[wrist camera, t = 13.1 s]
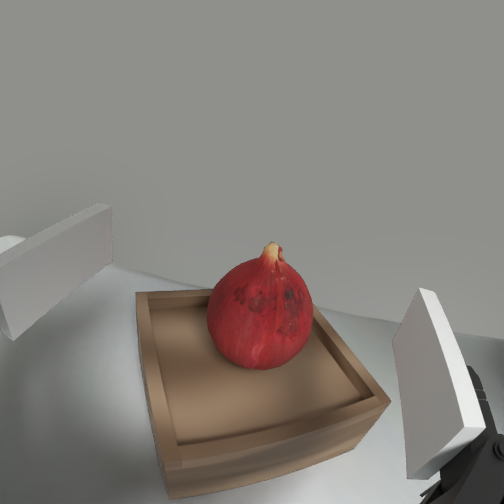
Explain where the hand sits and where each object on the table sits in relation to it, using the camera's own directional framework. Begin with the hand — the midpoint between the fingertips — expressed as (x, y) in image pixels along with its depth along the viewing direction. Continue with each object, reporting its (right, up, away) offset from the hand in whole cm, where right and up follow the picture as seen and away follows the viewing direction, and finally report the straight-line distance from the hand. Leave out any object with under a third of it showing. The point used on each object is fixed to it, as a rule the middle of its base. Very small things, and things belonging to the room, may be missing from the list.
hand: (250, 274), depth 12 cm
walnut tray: (-1, -10, +9) cm, 14 cm away
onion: (0, -6, +7) cm, 9 cm away
